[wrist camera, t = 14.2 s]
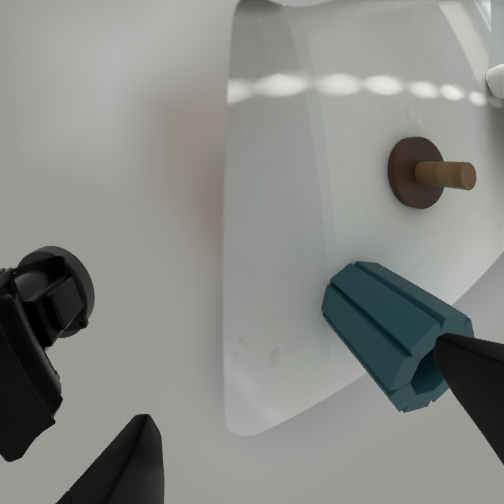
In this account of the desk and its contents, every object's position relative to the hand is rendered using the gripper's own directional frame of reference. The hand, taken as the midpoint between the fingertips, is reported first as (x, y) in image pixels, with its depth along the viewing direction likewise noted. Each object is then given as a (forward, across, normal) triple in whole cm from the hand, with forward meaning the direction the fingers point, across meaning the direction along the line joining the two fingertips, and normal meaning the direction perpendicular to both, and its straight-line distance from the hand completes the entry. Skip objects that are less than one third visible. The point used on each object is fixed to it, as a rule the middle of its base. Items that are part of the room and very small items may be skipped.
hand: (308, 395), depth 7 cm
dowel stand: (+13, -14, -4) cm, 20 cm away
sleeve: (+13, -8, +5) cm, 16 cm away
